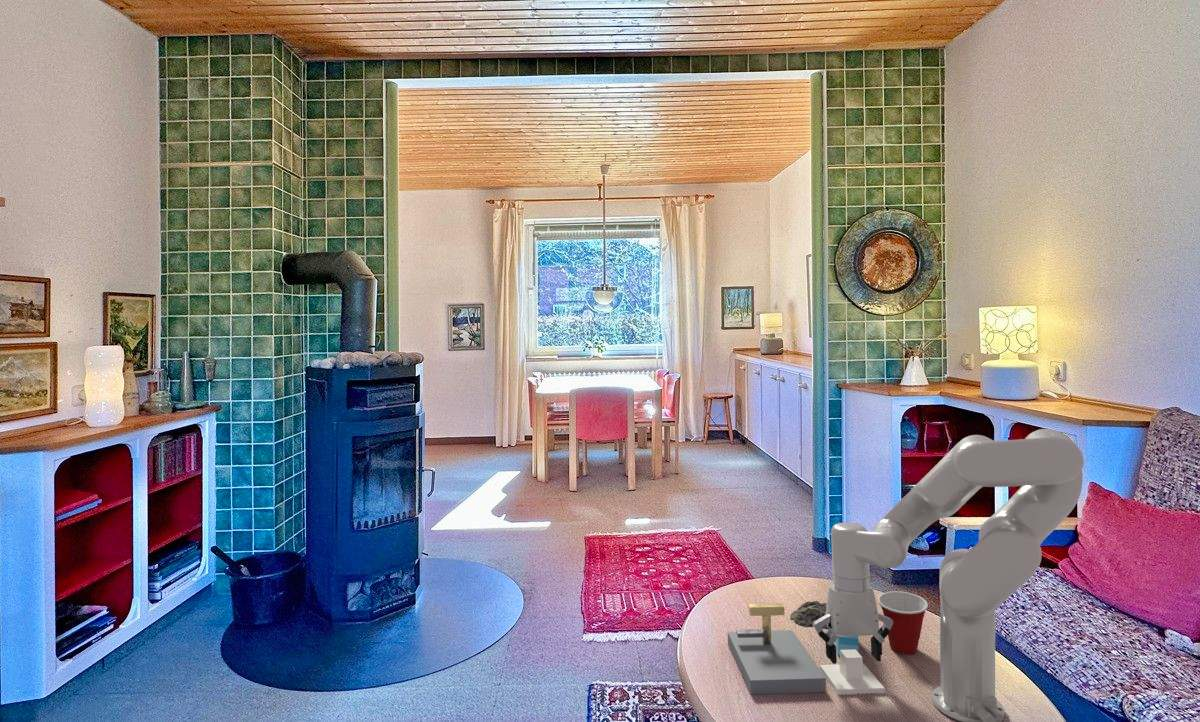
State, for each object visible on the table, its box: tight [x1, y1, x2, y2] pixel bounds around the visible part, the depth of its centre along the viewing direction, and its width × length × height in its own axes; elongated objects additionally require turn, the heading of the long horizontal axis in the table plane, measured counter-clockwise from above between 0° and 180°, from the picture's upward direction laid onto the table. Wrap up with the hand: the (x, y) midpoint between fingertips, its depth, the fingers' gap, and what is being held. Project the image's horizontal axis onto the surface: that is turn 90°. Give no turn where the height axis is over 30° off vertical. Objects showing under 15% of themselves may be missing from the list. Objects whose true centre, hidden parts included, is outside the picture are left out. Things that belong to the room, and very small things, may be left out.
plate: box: [727, 629, 827, 695], centre depth 143 cm, size 22×16×3 cm
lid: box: [819, 649, 886, 696], centre depth 136 cm, size 10×10×6 cm
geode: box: [789, 600, 829, 630], centre depth 167 cm, size 19×4×15 cm
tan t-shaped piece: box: [735, 602, 786, 644], centre depth 148 cm, size 11×2×9 cm, turn 89°
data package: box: [834, 636, 860, 656], centre depth 151 cm, size 12×4×12 cm, turn 165°
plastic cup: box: [877, 590, 929, 656], centre depth 149 cm, size 11×11×12 cm
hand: (854, 659), depth 136 cm, fingers open, 9 cm apart
